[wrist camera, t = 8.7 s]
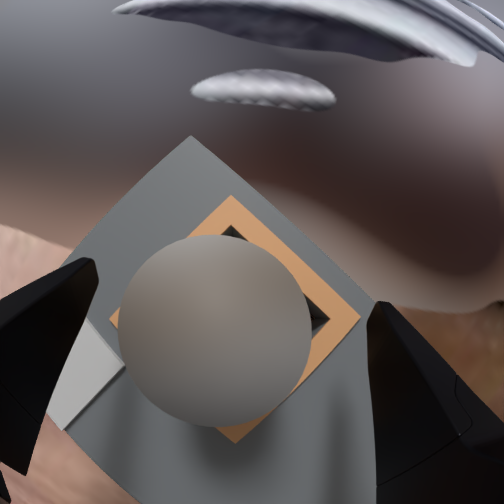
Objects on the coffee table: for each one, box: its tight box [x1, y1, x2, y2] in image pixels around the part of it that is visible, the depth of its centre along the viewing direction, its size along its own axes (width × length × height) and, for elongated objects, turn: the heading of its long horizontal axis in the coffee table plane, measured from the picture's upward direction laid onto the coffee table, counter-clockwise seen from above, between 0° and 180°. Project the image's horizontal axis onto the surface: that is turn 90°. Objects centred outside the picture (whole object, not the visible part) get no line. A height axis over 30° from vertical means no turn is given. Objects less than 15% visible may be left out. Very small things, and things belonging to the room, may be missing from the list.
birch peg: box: [118, 235, 312, 427], centre depth 11 cm, size 4×4×10 cm
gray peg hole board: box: [46, 136, 377, 504], centre depth 13 cm, size 22×16×3 cm
